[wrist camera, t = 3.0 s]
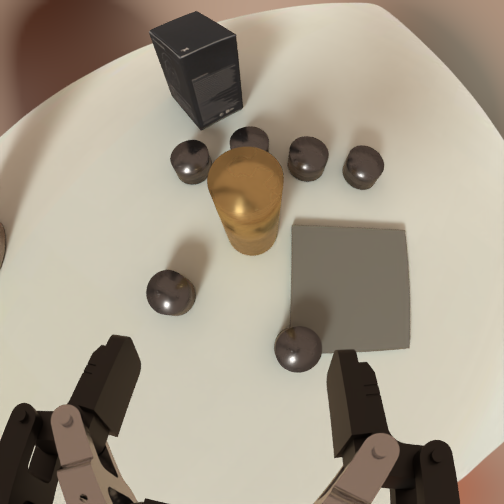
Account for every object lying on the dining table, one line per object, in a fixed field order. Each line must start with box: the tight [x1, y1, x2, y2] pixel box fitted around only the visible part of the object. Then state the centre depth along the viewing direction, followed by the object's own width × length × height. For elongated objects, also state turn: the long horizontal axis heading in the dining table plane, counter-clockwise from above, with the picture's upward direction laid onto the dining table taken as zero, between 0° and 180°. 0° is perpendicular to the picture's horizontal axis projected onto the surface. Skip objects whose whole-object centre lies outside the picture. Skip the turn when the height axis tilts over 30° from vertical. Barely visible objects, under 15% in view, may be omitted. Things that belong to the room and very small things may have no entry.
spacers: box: [146, 127, 384, 372], centre depth 25 cm, size 21×22×2 cm
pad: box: [290, 225, 410, 353], centre depth 24 cm, size 11×11×1 cm
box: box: [149, 11, 243, 130], centre depth 25 cm, size 8×6×11 cm
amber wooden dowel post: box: [207, 147, 284, 256], centre depth 21 cm, size 4×4×10 cm
